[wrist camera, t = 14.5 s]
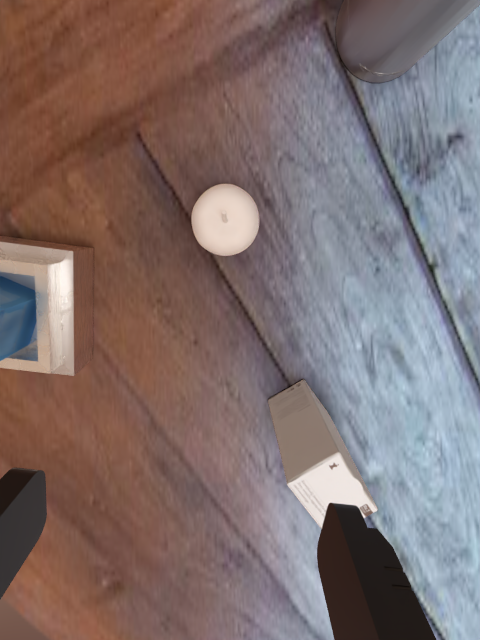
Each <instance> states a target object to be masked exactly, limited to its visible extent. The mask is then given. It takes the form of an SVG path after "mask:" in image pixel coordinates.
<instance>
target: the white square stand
mask: <svg viewBox="0 0 480 640" xmlns="http://www.w3.org/2000/svg"><path fill="white" fill-rule="evenodd" d="M0 276H2V277H5V278H7V279H9V280H12V281H14V282H16V283H19V284H21V285H23V286H26V287H28V288H30V289H33V290H35V294H36V319H37V322H36V325H35V328H34V331H33V334H32V338H31V341H30V344H29V345H28V346H26V347H24V348H22V349H21V350H19V351H17V352H16V353H14V354H12V355H10V356H9V357H7V358H5V359H3V360H2V361H0V368H8V369H16V370H25V371H33V372H42V373H55V374H63V375H72V376H74V375H75V374H76V373H78V372H79V371H80V370H81V369H82V368H83V367H84V366H85V365H86V364H87V363H88V362H90V361H91V360H92V359H93V277H94V248H91V247H83V246H76V245H68V244H60V243H53V242H45V241H38V240H30V239H23V238H15V237H8V236H0Z"/></svg>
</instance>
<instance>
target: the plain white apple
mask: <svg viewBox="0 0 480 640" xmlns="http://www.w3.org/2000/svg"><path fill="white" fill-rule="evenodd" d="M191 223H192V228H193V232H194V235H195V237H196V239H197V241H198V242H199V244H200V245H201V246H202V247H203V248H205V249H206V250H208V251H209V252H211V253H214V254H217V255H221V256H230V255H235V254H238V253H240V252H242V251H244V250H245V249H247V248H248V247H249V246H250V245H251V244H252V242H253V241H254V239H255V237H256V235H257V233H258V229H259V213H258V209H257V206H256V204H255V202H254V200H253V198H252V197H251V196H250V195H249V194H248V193H247V192H246V191H245V190H243V189H242V188H240V187H238V186H236V185H232V184H219V185H215V186H213V187H211V188H209V189H208V190H207V191H205V192H204V193H203V194H202V195H201V196H200V197H199V199H198V200H197V202H196V203H195V205H194V207H193V211H192V217H191Z"/></svg>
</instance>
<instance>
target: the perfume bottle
mask: <svg viewBox="0 0 480 640" xmlns="http://www.w3.org/2000/svg"><path fill="white" fill-rule="evenodd" d="M36 322H37V319H36V294H35V290H33V289H30V288H28V287H26V286H23V285H21V284H19V283H16V282H14V281H12V280H9V279H7V278H5V277H2V276H0V361H2V360H3V359H5V358H7V357H9V356H10V355H12V354H14V353H16V352H17V351H19V350H21V349H22V348H24V347H26V346H28V345H29V344H30V341H31V338H32V334H33V331H34V328H35V325H36Z"/></svg>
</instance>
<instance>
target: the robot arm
mask: <svg viewBox="0 0 480 640" xmlns="http://www.w3.org/2000/svg"><path fill="white" fill-rule="evenodd" d="M479 5H480V0H344V1H343V3H342V6H341V8H340V11H339V14H338V18H337V23H336V43H337V48H338V52H339V54H340V57H341V60H342V61H343V63H344V64H345V66H346V67H347V69H348V70H349V71H350V72H351V73H352V74H354V75H355V76H356V77H358V78H360V79H362V80H364V81H368V82H371V83H382V82H387V81H391V80H393V79H395V78H397V77H400V76H401V75H402V74H404V73H405V72H406V71H408V70H409V69H410V68H411V67H412V66H413V65H414V64H415V63H417V62H418V61H419V60H420V59H421V58H422V57H423V56H424V55H425V54H426V53H428V52H429V51H430V50H431V49H432V48H433V47H434V46H435V45H437V44H438V43H439V42H440V41H441V40H442V39H443V38H444V37H445V36H446V35H447V34H449V33H450V32H451V31H452V30H453V29H454V28H455V27H456V26H457V25H458V24H460V23H461V22H462V21H463V20H464V19H465V18H466V17H467V16H468V15H469V14H470V13H472V12H473V11H474V10H475V9H476V8H477V7H478V6H479ZM46 515H47V509H46V481H45V473H44V471H42V470H33V469H24V468H12V469H10V470H9V471H8V472H7V473H6V474H5V475H4V476H3V477H2V478H1V479H0V599H1V597H2V596H3V594H4V593H5V591H6V590H7V588H8V586H9V585H10V583H11V582H12V580H13V579H14V577H15V575H16V574H17V572H18V571H19V569H20V568H21V566H22V564H23V563H24V561H25V560H26V558H27V557H28V555H29V553H30V552H31V550H32V549H33V547H34V546H35V544H36V542H37V541H38V539H39V537H40V535H41V533H42V531H43V528H44V525H45V521H46ZM317 560H318V568H319V573H320V578H321V582H322V586H323V591H324V595H325V600H326V604H327V608H328V613H329V617H330V622H331V626H332V630H333V635H334V639H335V640H436V638H435V636H434V634H433V631H432V629H431V627H430V625H429V623H428V621H427V619H426V617H425V615H424V612H423V610H422V608H421V606H420V604H419V602H418V600H417V598H416V595H415V593H414V591H412V590H411V585H410V583H409V581H408V579H407V576H406V574H405V573H404V572H403V568H402V566H401V564H400V562H399V559H398V557H397V555H396V553H395V551H394V549H393V547H392V546H391V545H390V543H389V542H388V541H387V540H386V539H385V538H384V536H383V535H382V534H381V533H380V532H379V531H378V529H374V528H367V525H366V523H365V521H364V518H363V516H362V513H361V511H360V509H359V508H358V507H357V506H356V505H347V504H338V503H329V504H328V507H327V510H326V514H325V518H324V522H323V526H322V530H321V534H320V537H319V541H318V548H317Z"/></svg>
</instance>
